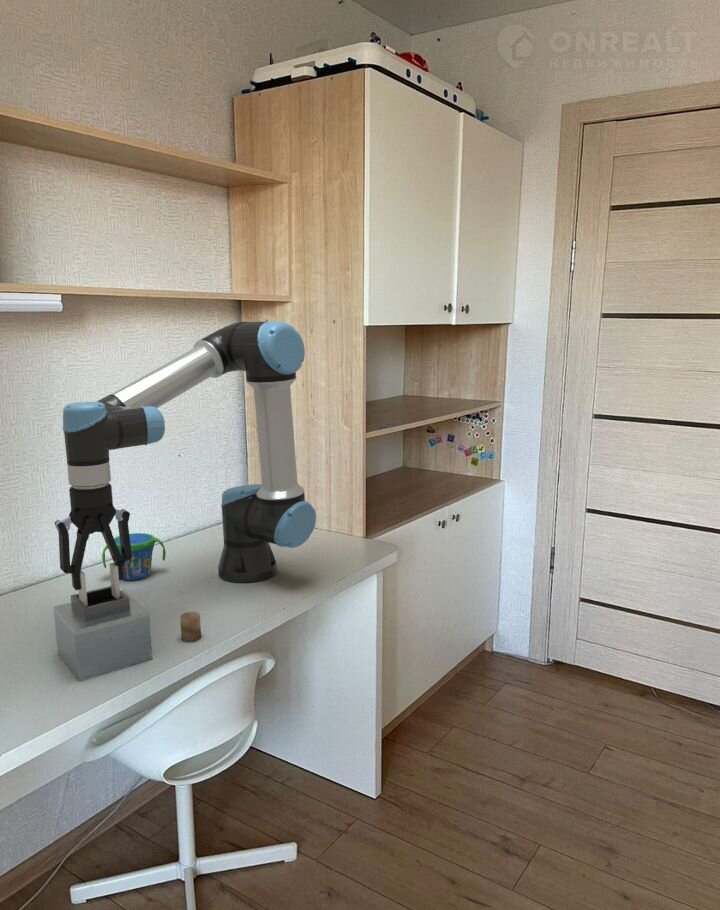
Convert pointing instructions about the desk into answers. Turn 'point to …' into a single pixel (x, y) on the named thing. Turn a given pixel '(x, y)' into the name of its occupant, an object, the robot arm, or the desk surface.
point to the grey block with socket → (102, 633)
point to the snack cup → (138, 555)
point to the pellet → (190, 627)
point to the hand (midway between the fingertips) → (100, 600)
